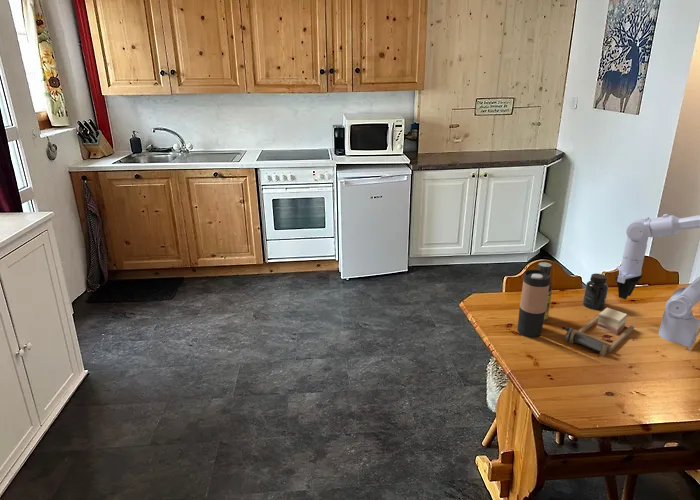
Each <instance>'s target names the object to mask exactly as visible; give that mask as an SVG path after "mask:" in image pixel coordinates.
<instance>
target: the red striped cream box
mask: <svg viewBox="0 0 700 500" xmlns="http://www.w3.org/2000/svg"><path fill="white" fill-rule="evenodd" d="M598 314H599V318H598V321H597V322H596V328H597V329H599V330H602V331H605V332H607V333H609V334H613V335H615V336H616V335H618V334H619V333H620V332H622V330H624V329H625V325H626V320H627V317H628V313H624V312H622V311H618V310H616V309H612V308H610V307H606V308H604V309H602V310H601V312H600V313H598Z"/></svg>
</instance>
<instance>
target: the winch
mask: <svg viewBox="0 0 700 500" xmlns="http://www.w3.org/2000/svg"><path fill="white" fill-rule="evenodd" d="M561 329H562V330H563V331H566V335H565V341H567V342H568V343H569V344H571V345H573V344H574V343H577V344H580V345H582V346H584V347H587V348H590V349H592V350H595V351H597V352H599V356H602V357H605V356H606V355H607V348H608V344H607V343H605V342H604V343H603V342H600V341H598V340H595V339H592V338H590V337H587V336H585V335H582V334H579V333H577V332H576V331H574V330H575V329H574V328H572V327H567V326H565V325H563V326H562V328H561Z"/></svg>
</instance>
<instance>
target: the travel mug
mask: <svg viewBox="0 0 700 500" xmlns="http://www.w3.org/2000/svg"><path fill="white" fill-rule="evenodd" d="M551 277H552V276H551V274H550V275H547V274H546V273H545V272H544V271H541V270H538V269H528V270H526V271H525V272H524V274H523V280H522V281H523V282H522V289H521V293H520V303H519V312H518V319H517V320H518V321H517V332H518V333H519V334H520V335H521V336H524V337H525V338H530V339H531V338H533V339H534V338H539V337H540V336H541V334H542V331H543V326H544V323H545V322H544V317H545V312H546V305H547V298H548V292H549V285H550V281H551Z"/></svg>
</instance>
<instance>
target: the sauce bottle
mask: <svg viewBox="0 0 700 500" xmlns="http://www.w3.org/2000/svg"><path fill="white" fill-rule="evenodd" d="M552 267H553V266H552V264H551V263H550V262H542V261H541V262H538V264H537V270H541V271H544V272H545V273H546V274H547V275H550V276H551V271H552ZM552 293H553V286H552V281H551V280H550V285H549V292H548V298H547V305H546V312H545V317H544V322H543V323H546V322H547V321H548V318H549V314H550V307H551V300H552Z"/></svg>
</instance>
